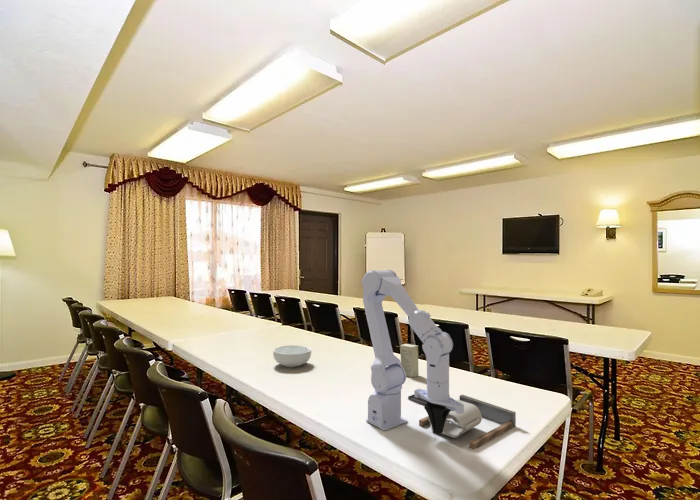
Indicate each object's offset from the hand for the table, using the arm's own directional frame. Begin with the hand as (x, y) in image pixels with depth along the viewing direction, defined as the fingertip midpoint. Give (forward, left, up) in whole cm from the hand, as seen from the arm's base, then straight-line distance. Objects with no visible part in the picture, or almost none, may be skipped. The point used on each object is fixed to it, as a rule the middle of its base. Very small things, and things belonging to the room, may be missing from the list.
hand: (437, 432), depth 95 cm
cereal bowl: (+5, +84, -2) cm, 84 cm away
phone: (+19, +17, -2) cm, 26 cm away
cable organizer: (+8, +1, -2) cm, 9 cm away
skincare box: (+36, +42, -2) cm, 55 cm away
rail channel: (+13, 0, -2) cm, 13 cm away
